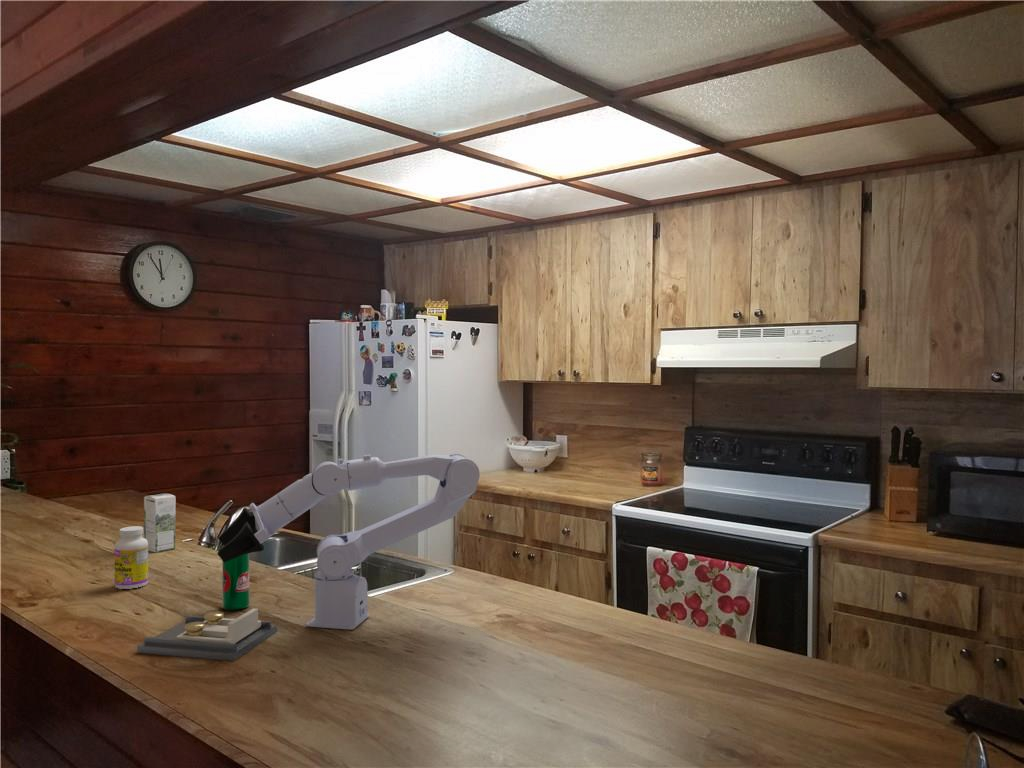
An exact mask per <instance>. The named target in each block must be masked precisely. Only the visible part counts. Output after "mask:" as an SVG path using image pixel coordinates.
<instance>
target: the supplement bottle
mask: <svg viewBox="0 0 1024 768" xmlns="http://www.w3.org/2000/svg"><path fill="white" fill-rule="evenodd" d="M143 535H144V527H143V526H140V525H138V526H137V525H136V526H132V525H131V526H127V527H122V528H120V529H119V537H120V539H119V540H117V541H116V542H115V544H114V587H115V589H117V588H118V589H117V590H122V589H130V590H132V589H131V588H137V589H139V588H138V587H141V588H142V586H143V587H145V586H147V584H148V583H149V551H148V541H147V540H146V539H145V538H144V537H143Z"/></svg>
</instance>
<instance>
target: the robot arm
mask: <svg viewBox="0 0 1024 768" xmlns="http://www.w3.org/2000/svg"><path fill="white" fill-rule="evenodd" d="M480 475H481V474H480V469H479V466H478V465H477V463H476V462H475V461H473V460H471V459H469V458H467V457H465V456H464V455H463V454H460V453H452V454H449V455H448V453H447V454H446V453H445V454H443V453H442V454H428V455H421V456H417V457H411V458H405V459H404V458H403V459H398V460H392V461H386V462H384V461H382V460H381V459H380V458H379V457H377V456H373V457H372V455H371V454H364V455H363V458H357V459H349V460H348V459H347V460H344V458H338V459H337V463H336V462H333V461H323V462H321V463H317V464H316V465H315V467H314V468H313V470H312V472H310V473H308V474H306V475H304V476H303V477H302V478H301V479H296V481H294V482H293V483H291V484H290V485H288V486H287V487H285V488H284V489H282V490H281V491H279V492H278V493H276V494H275V495H273V496H272V497H270V498H269V499H267V500H266V501H264V502H263V503H260V505H259V504H258V506H257V505H256V504H255V503H254V502H251V503H250V504H249V508H250V510H251V512H250V510H249V509H248V508H247V507H246V506H244V507H243V508H242V510H241V511H240V513H239V515H238V516H237V518H236V519H235V520H234V521H233V522H232V524H231V525H230V526H228V527H227V528H226V529H225V530H224V531H223V532H222V533H221V534H220V535H219V537H218V540H219V542H221V544H222V545H223V546H222V547H221V548H220V549H219V550H218V552H217V555H218V556H219V557H220V559H221V560H223V562H227V561H229V560H232V559H234V558H237V557H239V556H242V555H244V554H248V553H249V554H251V553H258V552H259V553H260V552H263V551H264V550H265V547H264V545H263V543H264V542H266V541H267V540H269V539H271V537H272V536H274V535H275V533H276V532H277V531H279V530H281V529H283V527H285V526H287V525H288V524H289V523H291V522H293V521H294V520H295V519H297V518H298V517H300V516H301V515H303V514H304V513H306V512H307V511H308V510H310V509H312V508H313V507H314V506H316V505H317V504H318V503H319V502H321V501H322V500H323V499H325V498H326V497H327V496H332V497H333V496H336V495H338V494H339V493H341V492H342V490H344V491H346V492H349V491H356V490H363V489H369V488H372V489H373V488H376V487H377V488H378V487H380V486H381V485H382V484H383V483H384V481H386V480H388V479H397V478H398V479H399V478H411V477H419V476H429V477H431V478H434V479H437V480H438V481H439V483H438V486H437V489H436V492H435V495H434V497H433V498H431V499H429V500H426V501H424V502H422V503H420V504H417V505H414V506H412V507H410V508H407V509H406V510H403V511H400V512H399V513H397V514H394V515H392V516H390V517H387V518H385V519H383V520H380V521H377V522H375V523H374V524H371V525H369V526H366V527H364V528H362V529H359V530H354V531H352V530H351V531H348V532H346V533H344V534H330V535H326V536H325V537H324V538H322V539H320V542H319V543H318V544H317V547H316V557H317V559H316V565H317V570H316V571H315V572H314V617H313V618H312V619H310V620H309V621H307V622H306V623H305V626H306V627H310V628H322V629H323V628H324V629H337V630H348V631H349V630H355V629H356V628H357V627H358V626H359V625H360V624H362V622H364V621H365V620H366V619H367V618H369V617H370V614H369V613H368V610H369V609H368V582H367V579H366V577H364V576H359V575H357V574H354V569H353V568H354V567H355V566H356V565H359V564H361V563H362V562H364V561H365V559H367V557H368V556H369V555H372V554H374V553H376V552H379V551H380V550H383V549H386V548H387V547H390V546H392V545H394V544H396V543H399V542H402V541H403V540H405V539H408V538H410V537H412V536H415V535H417V534H420V533H421V532H424V531H425V530H428V529H431V528H433V527H435V526H437V525H439V524H441V523H443V522H446V521H448V520H451V519H453V518H454V517H455V516H457V515H458V513H459V512H460V510H461V509H462V507H463V506H464V505H465V503H466V502H467V500H469V498H470V496H473V494H474V493H476V491H477V488H478V484H479V481H480Z"/></svg>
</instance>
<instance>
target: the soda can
mask: <svg viewBox="0 0 1024 768" xmlns="http://www.w3.org/2000/svg"><path fill="white" fill-rule="evenodd" d="M221 560H222V559H221ZM221 562H222V567H221V568H222V570H221V571H222V572H221V573H222V608H224V610H226V609H227V610H226V611H228V610H237V611H239V610H238V609H242V610H244V608H245V609H246V607H248V606H250V553H248V554H244V555H242V556H239V557H237V558H234V559H232V560H229V561H227V562H223V560H222V561H221Z"/></svg>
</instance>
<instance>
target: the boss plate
mask: <svg viewBox="0 0 1024 768" xmlns="http://www.w3.org/2000/svg"><path fill="white" fill-rule="evenodd" d="M222 618H224V611H219V610H218V611H217V610H216V611H210V612H207V613H205V614H204V615H203V616H202V615H200V616H199V615H190V614H189V615H185V620H183V621H182V622H179V623H178V624H176V625H174V626H172V627H170V628H168V629H166V630H164V631H163V632H161V633H159V634H157V635H155V636H145V637H144V638H143V642H142V643H139V644H138V645H137V646H136V652H137V654H145V655H157V656H158V655H159V656H167V657H168V656H170V657H180V658H181V657H183V658H193V659H194V658H195V659H207V660H216V661H217V660H218V661H227V660H229V661H230V662H235V661H236V660H238V659H239V658H241V657H242V656H244V655H245V654H246V653H248V652H249V651H251V650H252V649H255V647H257V646H258V645H260V644H261V643H262V642H265V640H267V639H268V638H270V637H272V636H273V635H274V634H276V633H277V632H278V625H277V624H272V621H271V620H260V621H261V627H259V628H258V629H256V630H255V631H253V632H252V633H250V634H249V635H247V636H245V637H244V638H242V639H241V640H239V641H238V642H236V643H235V644H233V643H220V642H208V641H195V640H183V639H176V636H178V635H180V634H182V633H184V632H185V631H186V632H188V633H189V636H200V637H209V636H201V630H203V629H204V628H205V623H204V621H205V620H206V621H208V625H220V619H222ZM227 618H228V617H227ZM228 619H231V618H228ZM221 626H226V625H221ZM213 638H222V637H213ZM240 656H241V657H240ZM237 658H238V659H237ZM234 660H235V661H234Z"/></svg>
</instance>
